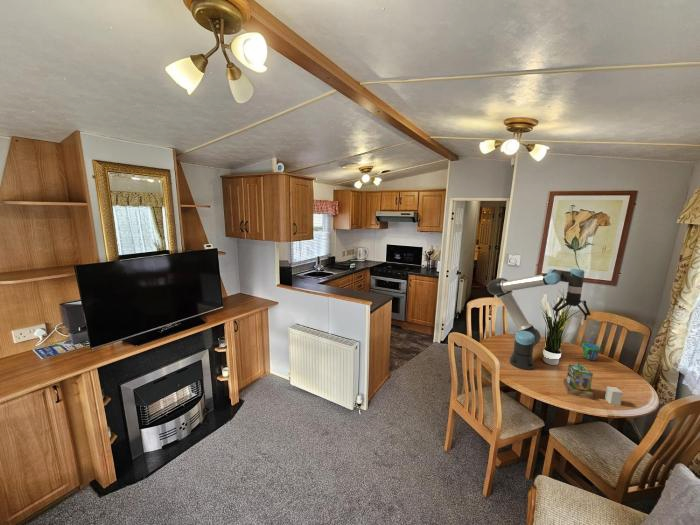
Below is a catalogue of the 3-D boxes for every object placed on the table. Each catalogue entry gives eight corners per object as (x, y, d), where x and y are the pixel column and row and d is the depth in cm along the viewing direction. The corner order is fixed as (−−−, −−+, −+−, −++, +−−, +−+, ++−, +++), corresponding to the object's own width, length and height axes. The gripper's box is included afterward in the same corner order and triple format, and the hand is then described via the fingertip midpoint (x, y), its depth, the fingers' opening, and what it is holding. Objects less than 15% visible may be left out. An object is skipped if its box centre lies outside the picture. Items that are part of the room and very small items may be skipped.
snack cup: (591, 363, 210) (593, 350, 208) (575, 357, 219) (577, 344, 218) (603, 359, 216) (605, 347, 214) (587, 353, 225) (589, 341, 224)
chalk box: (590, 391, 170) (594, 368, 167) (572, 388, 173) (576, 365, 170) (582, 383, 179) (587, 361, 176) (565, 380, 181) (569, 358, 179)
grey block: (610, 404, 165) (612, 391, 163) (604, 398, 170) (606, 386, 168) (620, 405, 164) (622, 392, 162) (614, 399, 169) (616, 387, 167)
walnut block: (567, 394, 174) (568, 388, 173) (563, 384, 184) (564, 378, 184) (592, 400, 169) (593, 394, 168) (586, 389, 179) (587, 383, 178)
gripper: (552, 291, 193) (548, 321, 197) (599, 296, 182) (594, 328, 186) (550, 288, 200) (546, 317, 203) (596, 293, 189) (591, 324, 193)
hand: (569, 322), depth 195 cm, fingers open, 13 cm apart
